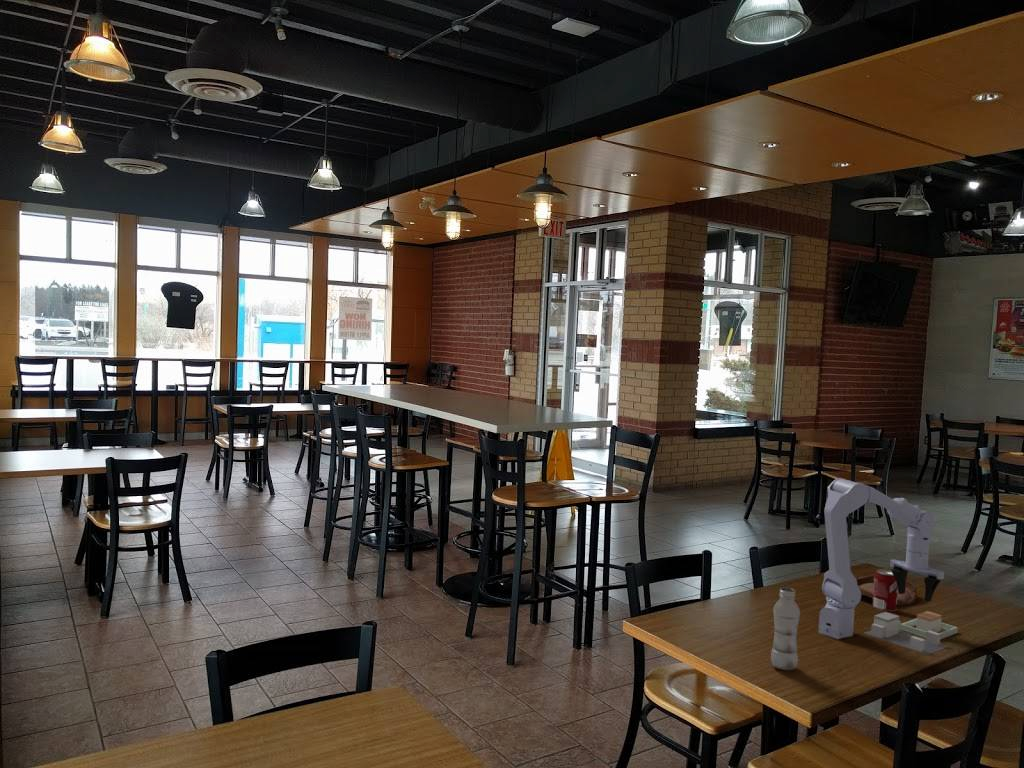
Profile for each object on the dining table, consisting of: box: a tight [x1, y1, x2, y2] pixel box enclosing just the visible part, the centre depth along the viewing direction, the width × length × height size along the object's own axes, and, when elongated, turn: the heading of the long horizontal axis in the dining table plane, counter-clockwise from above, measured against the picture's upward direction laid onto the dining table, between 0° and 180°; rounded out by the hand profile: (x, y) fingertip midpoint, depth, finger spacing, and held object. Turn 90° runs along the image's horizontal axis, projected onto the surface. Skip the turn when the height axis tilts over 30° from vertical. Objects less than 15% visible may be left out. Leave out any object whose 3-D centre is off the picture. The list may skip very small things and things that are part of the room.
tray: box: [900, 617, 959, 640], centre depth 218 cm, size 12×10×2 cm
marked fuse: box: [915, 610, 942, 633], centre depth 218 cm, size 6×4×5 cm, turn 125°
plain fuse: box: [873, 611, 900, 637], centre depth 215 cm, size 6×4×5 cm, turn 125°
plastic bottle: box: [770, 587, 801, 671], centre depth 190 cm, size 6×7×20 cm
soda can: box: [872, 569, 898, 613], centre depth 238 cm, size 7×7×12 cm
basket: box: [855, 574, 918, 606], centre depth 251 cm, size 22×20×5 cm
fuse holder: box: [863, 620, 949, 656], centre depth 210 cm, size 11×18×4 cm, turn 35°
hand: (914, 597), depth 220 cm, fingers open, 7 cm apart
